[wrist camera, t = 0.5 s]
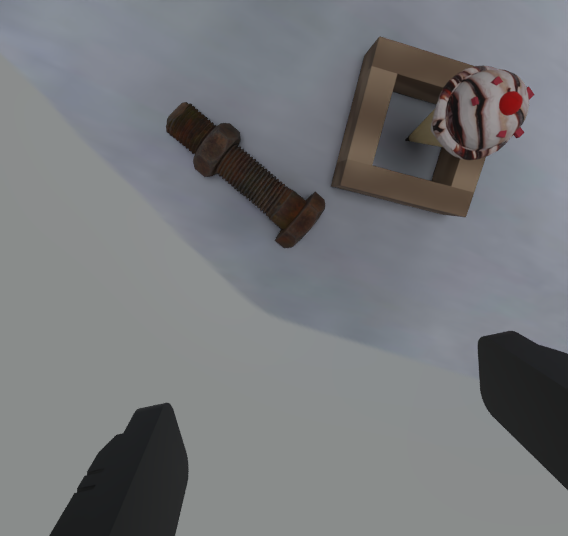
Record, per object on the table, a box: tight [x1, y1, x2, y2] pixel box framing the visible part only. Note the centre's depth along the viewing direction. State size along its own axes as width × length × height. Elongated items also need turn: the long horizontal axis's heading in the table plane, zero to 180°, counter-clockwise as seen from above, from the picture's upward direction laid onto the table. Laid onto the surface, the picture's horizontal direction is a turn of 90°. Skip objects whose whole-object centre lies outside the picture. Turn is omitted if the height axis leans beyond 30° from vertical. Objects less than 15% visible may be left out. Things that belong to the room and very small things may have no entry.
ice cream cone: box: [406, 66, 534, 160], centre depth 27 cm, size 6×6×15 cm
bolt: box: [166, 102, 325, 248], centre depth 32 cm, size 6×5×15 cm
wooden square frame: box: [331, 37, 486, 217], centre depth 32 cm, size 12×12×4 cm
